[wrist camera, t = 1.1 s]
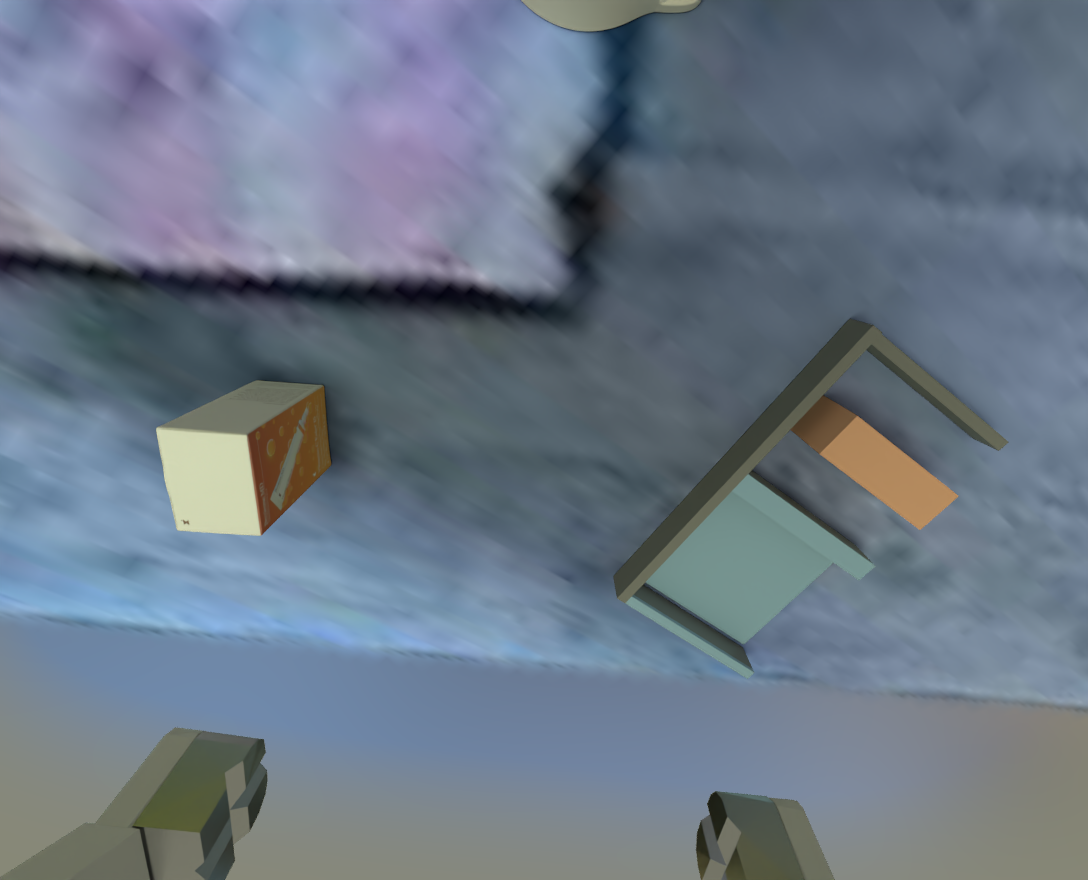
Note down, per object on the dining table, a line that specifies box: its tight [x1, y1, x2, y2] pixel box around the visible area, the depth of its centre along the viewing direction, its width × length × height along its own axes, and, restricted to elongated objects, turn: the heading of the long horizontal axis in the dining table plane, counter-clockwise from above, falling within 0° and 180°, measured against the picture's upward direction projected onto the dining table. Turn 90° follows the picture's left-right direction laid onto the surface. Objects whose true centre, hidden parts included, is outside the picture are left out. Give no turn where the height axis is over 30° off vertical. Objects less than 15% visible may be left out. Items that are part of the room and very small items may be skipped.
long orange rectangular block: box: [790, 395, 958, 530], centre depth 46 cm, size 4×12×6 cm, turn 55°
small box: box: [156, 380, 331, 536], centre depth 42 cm, size 8×6×13 cm
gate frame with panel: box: [613, 319, 1008, 679], centre depth 49 cm, size 32×17×4 cm, turn 145°
